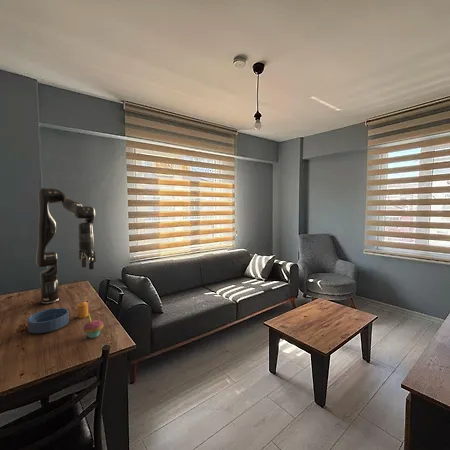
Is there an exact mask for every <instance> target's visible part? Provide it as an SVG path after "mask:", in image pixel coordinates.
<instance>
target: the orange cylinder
mask: <svg viewBox="0 0 450 450" xmlns="http://www.w3.org/2000/svg"><path fill="white" fill-rule="evenodd" d="M88 313H89V302H87V301H82V302H79V303H77V318H79V319H85V318H87V317H89V316H88Z"/></svg>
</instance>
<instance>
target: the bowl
mask: <svg viewBox="0 0 450 450" xmlns="http://www.w3.org/2000/svg"><path fill="white" fill-rule="evenodd" d="M69 312H70V310H69V309H68V308H66V307H65V308H64V307H54V308H48V309H44V310H41V311H37V312H35V313H33V314H31V315H30V316H28V317H27V319H26V323H27V331H28V332H29V333H30V334H44V333H45V334H46V333H49V332H53V331H56V330H59V329H61V328H63V327H65V326H66V325H68V324H69V322H70V313H69Z"/></svg>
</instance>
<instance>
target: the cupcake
mask: <svg viewBox="0 0 450 450" xmlns="http://www.w3.org/2000/svg"><path fill="white" fill-rule="evenodd" d="M87 317H88V322H86V323H85V324H84V326H83V328H82V329H83V332H85V333H86V335H87V337H88V338H89V339H93V338H97V337H98V336H99V335H100V334H101V330H102V329H103V328H104V322H103V321H102V320H99V319H92V318H91V314H90V313H89V312H88V316H87Z"/></svg>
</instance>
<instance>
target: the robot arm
mask: <svg viewBox="0 0 450 450" xmlns="http://www.w3.org/2000/svg"><path fill="white" fill-rule="evenodd" d="M37 202H38V224H37V225H38V226H37V247H36V254H35V264H36V266H37V267H38V268H45V267H47V268H46V269H45V270H43V271H40V273H39V281H40V295H41V304H42V305H49V304H54V303H56V302H59V301H60V297H59V293H60V292H59V291H60V288H59V285H61V282H59V279H58V271H59V269H58V267H59V266H58V263H59V261H58V259H59V258H58V254H57V252H56V251H54V250H51V251H46V249H47V247H48V245H49V244H50V243H51V241H52V240H53V239H54V237H55V236H56V233H57V222H56V220H55V219H54V217H53V216H52V214H51V212H50V210H49V204H56V203H57V204H58V203H59V204H61V206H62V208H63V209H64V210H66V211H68V212H70V213H71V214H72V215H73V217H75V218H76V219H84V220H83V222H80V223H79V224H78V249H79V250H78V259H79V260H80V262H81V268H87V261H88V269H89V270H94V268H95V267H94V266H95V265H94V264H95V262H97V261H96V260H97V259H96V252H95V251H94V250H93V249H95V240H94V239H95V238H94V231H93V229H94V228H93V225H94V222H95V218H96V209H95V208H94V207H93V206H90V205H82V203H80V202H79V201H77V200H74V199H72V198H71V197H69V196H68V195H66V194H65V193H64V192H63V191H61V189H59V188H56V187H40V189H38V192H37Z"/></svg>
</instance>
